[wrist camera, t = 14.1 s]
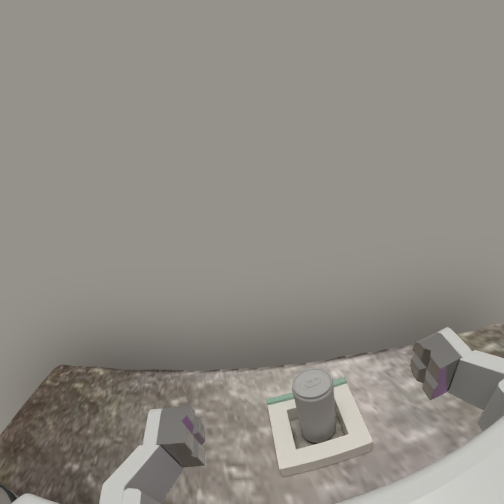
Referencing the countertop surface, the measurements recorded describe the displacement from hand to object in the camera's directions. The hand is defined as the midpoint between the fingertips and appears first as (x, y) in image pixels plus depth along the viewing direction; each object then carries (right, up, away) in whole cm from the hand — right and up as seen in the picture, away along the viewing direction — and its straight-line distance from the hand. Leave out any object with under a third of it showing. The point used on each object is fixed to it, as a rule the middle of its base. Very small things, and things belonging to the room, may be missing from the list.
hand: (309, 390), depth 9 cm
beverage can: (+8, -21, +26) cm, 34 cm away
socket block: (+7, -21, +25) cm, 34 cm away
